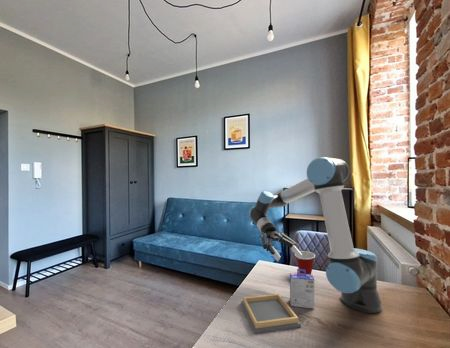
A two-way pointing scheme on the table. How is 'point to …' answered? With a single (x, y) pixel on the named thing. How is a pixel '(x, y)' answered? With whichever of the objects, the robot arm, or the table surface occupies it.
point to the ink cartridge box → (301, 289)
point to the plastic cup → (306, 262)
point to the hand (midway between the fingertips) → (290, 258)
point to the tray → (269, 313)
